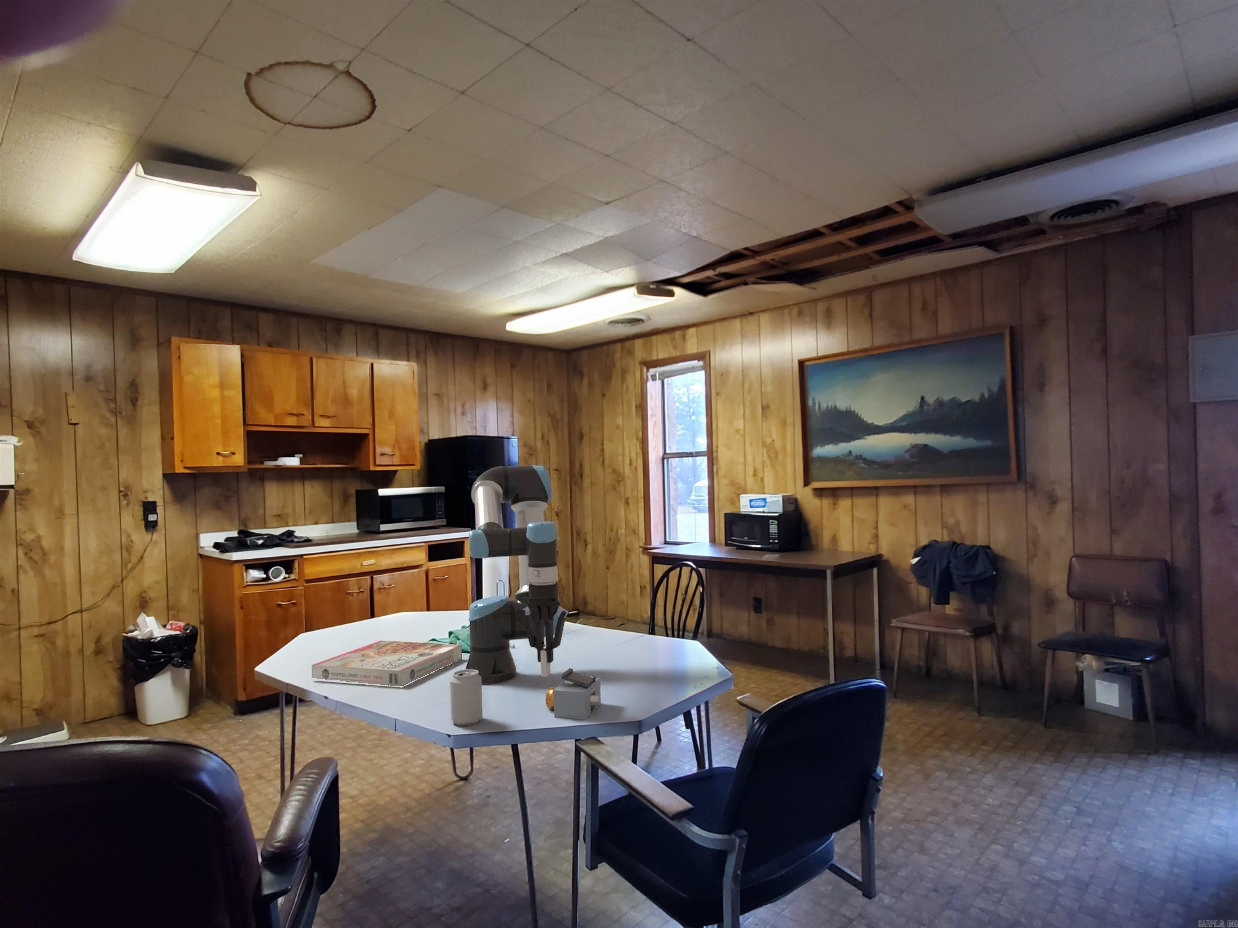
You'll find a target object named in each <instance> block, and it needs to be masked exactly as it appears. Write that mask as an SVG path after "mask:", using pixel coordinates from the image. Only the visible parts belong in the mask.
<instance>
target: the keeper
mask: <svg viewBox="0 0 1238 928" xmlns="http://www.w3.org/2000/svg"><path fill="white" fill-rule="evenodd" d="M596 678H597V676H595V675H592V676H588V675H585V674H581V673H579V672H576V671H574V669H573V668H570V667H569V668H568V669H567V670H565V671H564V672H562V675H561V678H560V679H561V680H563V681H569V682H572V683H576V684H579V685H582V686H583V687H584V688H588V686H589V685H590V684H592V683H593V682H595V681H596Z"/></svg>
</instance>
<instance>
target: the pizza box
mask: <svg viewBox="0 0 1238 928" xmlns="http://www.w3.org/2000/svg"><path fill="white" fill-rule="evenodd" d="M460 659H462V660H463V644H452V643H451V644H449V643H433V642H414V641H400V640H399V641H396V640H378V641H376V642H373V643H370V644H367V645H365V646H361V647H358V648H356V649H353V650H350V651H348V652H345V653H341V654H338V655H336V656H333V657H331V658H327V659H324V660H322V661H319V662H317V663H314V664H311V679H312V678H317V679H325V680H340V681H346V682H358V683H368V684H380V685H388V686H389V685H390V686H404V685H406V684H408V683H410V682H412V681H414V680H416V679H418V678H421V677H423V676H425V675H427V674H430V673H431V672H433V671H436V670H438V669H440V668H442V667H445V666H447V665H449V664H451V663H454V662H456V661H458V662H459V660H460ZM460 661H461V660H460ZM456 663H457V662H456ZM454 664H455V663H454ZM449 666H450V665H449ZM447 667H448V666H447ZM445 668H446V667H445Z"/></svg>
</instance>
